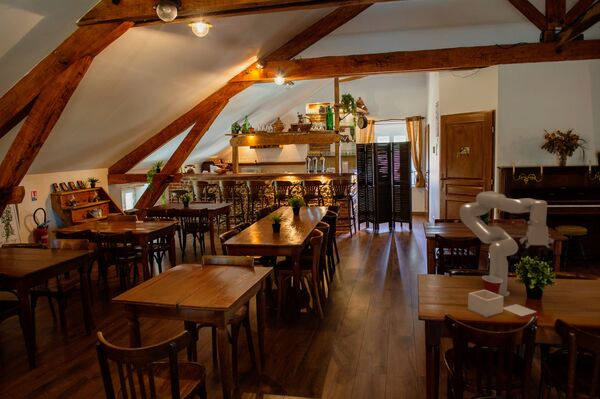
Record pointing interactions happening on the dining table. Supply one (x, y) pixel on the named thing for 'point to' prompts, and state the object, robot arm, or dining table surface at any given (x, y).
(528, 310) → the mat
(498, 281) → the plastic cup
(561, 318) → the dining table surface
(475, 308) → the white open box
